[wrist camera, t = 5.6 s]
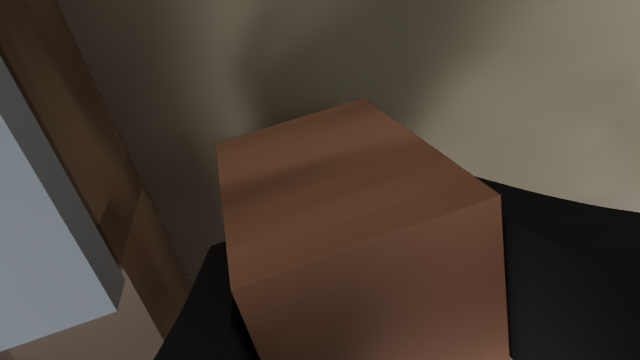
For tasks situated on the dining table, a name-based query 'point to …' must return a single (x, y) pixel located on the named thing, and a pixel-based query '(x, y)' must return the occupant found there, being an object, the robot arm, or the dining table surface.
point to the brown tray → (93, 191)
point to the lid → (45, 236)
